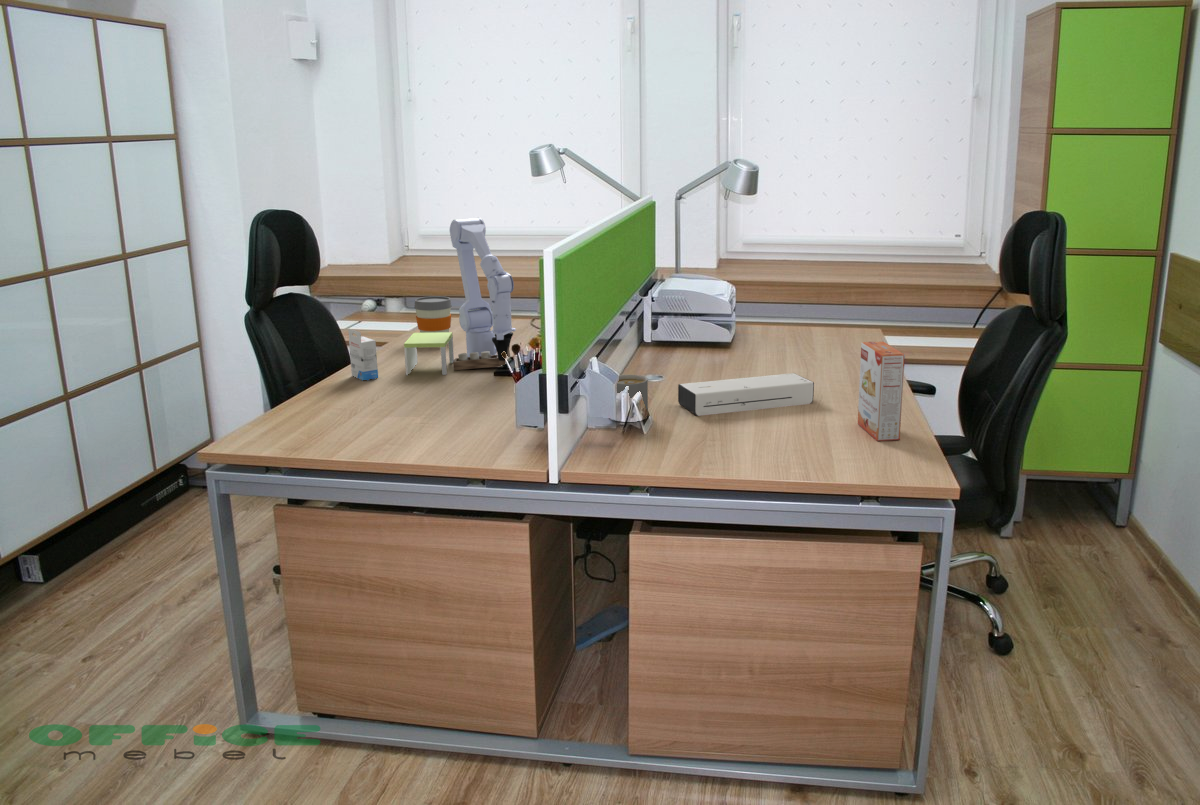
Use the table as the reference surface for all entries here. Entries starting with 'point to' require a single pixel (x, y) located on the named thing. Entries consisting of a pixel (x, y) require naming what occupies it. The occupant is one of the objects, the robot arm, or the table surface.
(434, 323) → the reusable coffee cup
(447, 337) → the green top stool
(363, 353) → the ink box
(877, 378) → the cracker box
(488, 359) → the wooden slotted rack
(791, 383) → the laminator
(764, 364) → the table surface
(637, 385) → the coffee mug
